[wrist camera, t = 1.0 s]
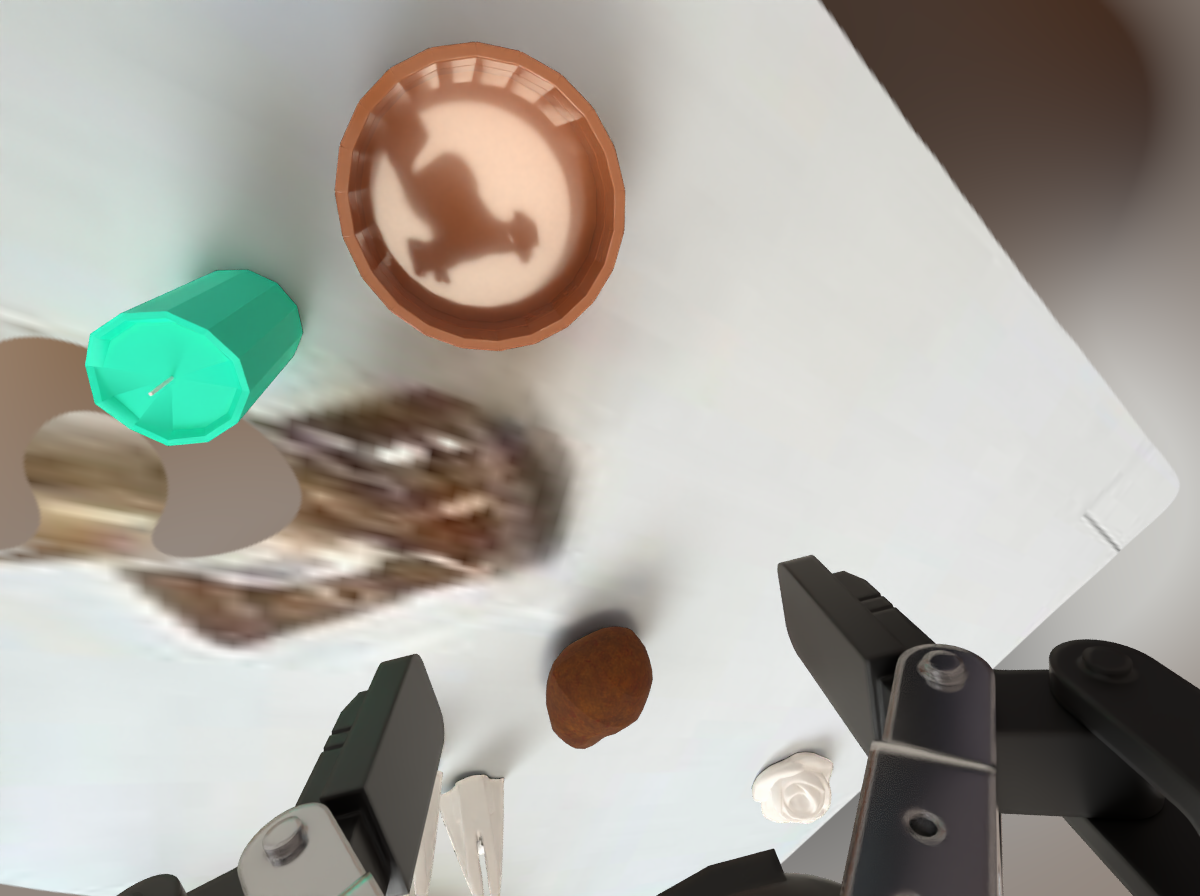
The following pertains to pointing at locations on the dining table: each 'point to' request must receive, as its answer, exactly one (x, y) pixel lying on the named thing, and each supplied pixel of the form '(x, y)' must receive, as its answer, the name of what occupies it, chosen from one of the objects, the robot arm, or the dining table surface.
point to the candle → (193, 356)
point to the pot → (480, 196)
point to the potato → (598, 686)
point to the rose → (795, 789)
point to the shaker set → (466, 831)
